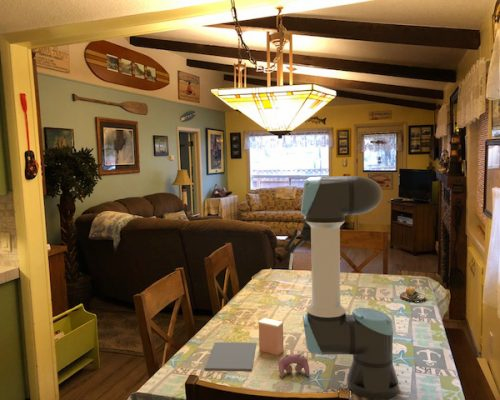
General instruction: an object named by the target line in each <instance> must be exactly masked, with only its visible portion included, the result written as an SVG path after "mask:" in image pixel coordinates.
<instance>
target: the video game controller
mask: <svg viewBox="0 0 500 400" xmlns="http://www.w3.org/2000/svg"><path fill="white" fill-rule="evenodd" d="M292 364H296V365H295V366H294V367H295V368H294V370H295V372H296V373H301V372H302V371H303V369H304V373H305V376H306V377H309V376H310V365H309V361H308V359H307V357H305V356H304V355H303V354H298V353H297V354H296V353H291V354H286V355H283V356H282V357H280V358H279V360H278V371H279V375H280V377H281V378H282V379H283V378H284V375H285V372H286V373H288V374H289V373H292V372H293V367H292Z"/></svg>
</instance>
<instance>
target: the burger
mask: <svg viewBox="0 0 500 400" xmlns="http://www.w3.org/2000/svg"><path fill="white" fill-rule="evenodd" d="M407 286H408V287H407V288H406V289H405V292H401V293H399V299H400V300H403V301H404V300H405V301H404V302H408V301H410V302H409V303H414V302H413V301H424V302H425V299H426V297H427V296H426V295H425V294H423V293H419V292H417V291H416V289H415V287H413V286H409V285H407ZM411 301H412V302H411Z"/></svg>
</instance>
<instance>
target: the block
mask: <svg viewBox="0 0 500 400" xmlns="http://www.w3.org/2000/svg"><path fill="white" fill-rule="evenodd" d="M258 349H259V351H260V352H264V353H269V354H271V355H276V356H279V355H280V354H282V353H283V352H284V351H285V350H284V321H281V320H280V321H279V320H276V319H271V318H265V317H264V318H262V319H261V320H259V321H258Z"/></svg>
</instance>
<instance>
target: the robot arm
mask: <svg viewBox="0 0 500 400" xmlns="http://www.w3.org/2000/svg"><path fill="white" fill-rule="evenodd" d="M303 183H304V184H303V188H302V189H303V190H302V197H301V205H300V206H301V207H300V215H301V216H302V217H303V218H304V219H303V224H302V229H301V230H298V229H294V232H293V235H292V236H291V238H290V239H289V241H288V242H287V244H286V245H285V247H284V251H285V252H287V261H288V262H289V265H288V270H291V271H292V270H293V269H292V268H293V261H294V251H295V250H297V248H299V247H300V246H301V245H302V244H303V243H305V242H306V243H310V245H311V246H310V249H311V250H310V251H311V253H310V254H311V261H310V262H311V304H310V305H309V306H308V307H307V311H306V312H307V313H304V314H303V315H302V320H303V321H302V322H303V327H304V330H303V331H304V336H305V342H306V348H307V350H308V352H309V353H311V354H315V355H316V354H317V355H321V356H324V355H347V356H348V355H352V361H351V365H350V367H349V371H348V373H347V377H346V379H347V380H346V382H347V387H348V388H349V390H351V392H352V393H354V394H356V395H358V396H360V397H363V398H366V399H371V400H386V399H391V398H393V397H394V396H396V395H397V394H398V393H399V387H400V386H399V379H398V377H397V372H396V370H395V367H394V365H393V362H394V361H393V347H394V346H393V340H394V339H393V338H394V337H393V336H394V330H393V329H394V328H393V320H392V318H391V316H390V315H388V314H387V313H385V312H383V311H380V310H378V309H375V308H369V307H358V308H354V309H353V310H352V313H351V314H347V313H346V308H344V306H342V304H341V238H340V236H341V234H340V233H341V230H340V229H341V227H342V225H343V224H344V223H345V222H346V216H355V215H356V216H357V215H362V214H365V213H369V212H371V211H372V210H374V209H376V208H377V207H378V206H379V205H380V204H381V201H382V199H383V190H382V188H381V186H380V185H379V183H378V182H376V181H375V180H373V179H371V178H368V177H366V176H358V175H349V176H348V175H347V176H346V175H344V176H342V175H341V176H336V175H335V176H322V175H321V176H312V177H308V178H307V179H305V181H304V182H303ZM299 235H301V238H299V240H298V241H297V242H296V243H295V244H294V242H295V241H296V239H297V237H298V236H299ZM293 244H294V245H293ZM291 246H292V247H291Z"/></svg>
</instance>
